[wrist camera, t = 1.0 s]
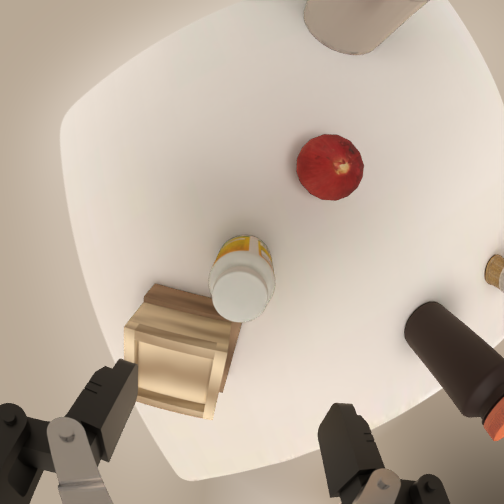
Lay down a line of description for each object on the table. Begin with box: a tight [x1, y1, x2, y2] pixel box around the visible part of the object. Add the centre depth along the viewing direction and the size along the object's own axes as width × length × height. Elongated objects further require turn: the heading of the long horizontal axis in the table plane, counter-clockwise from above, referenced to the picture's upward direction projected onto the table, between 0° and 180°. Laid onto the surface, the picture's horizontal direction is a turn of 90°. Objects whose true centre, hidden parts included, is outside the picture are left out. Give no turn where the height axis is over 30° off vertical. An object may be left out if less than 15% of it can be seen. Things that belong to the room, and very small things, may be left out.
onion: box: [296, 134, 364, 201], centre depth 23 cm, size 6×6×8 cm
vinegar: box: [405, 302, 504, 441], centre depth 22 cm, size 7×7×20 cm
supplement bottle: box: [209, 235, 275, 322], centre depth 25 cm, size 5×5×10 cm
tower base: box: [144, 284, 242, 393], centre depth 30 cm, size 10×10×4 cm
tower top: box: [124, 302, 231, 420], centre depth 26 cm, size 9×9×5 cm
